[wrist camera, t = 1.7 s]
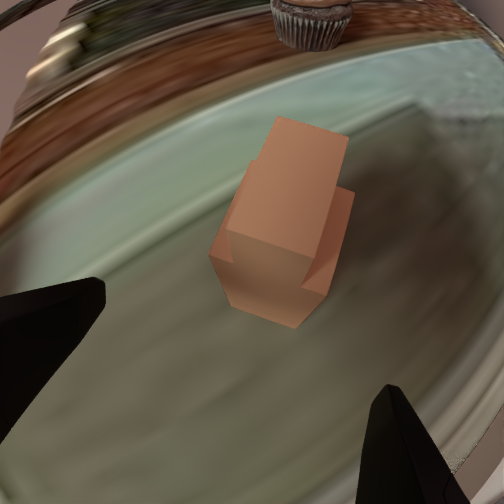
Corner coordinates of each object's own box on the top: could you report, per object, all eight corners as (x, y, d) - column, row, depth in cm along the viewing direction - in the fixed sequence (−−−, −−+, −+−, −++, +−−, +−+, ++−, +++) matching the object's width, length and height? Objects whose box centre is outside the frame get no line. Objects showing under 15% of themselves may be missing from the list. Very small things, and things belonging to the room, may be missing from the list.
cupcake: (291, 14, 34) (294, -45, 25) (356, 36, 32) (369, -26, 23) (254, 40, 32) (252, -31, 22) (328, 65, 30) (342, -11, 20)
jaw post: (295, 329, 20) (349, 271, 8) (231, 306, 21) (192, 217, 9) (316, 267, 22) (377, 147, 10) (255, 246, 22) (249, 109, 10)
